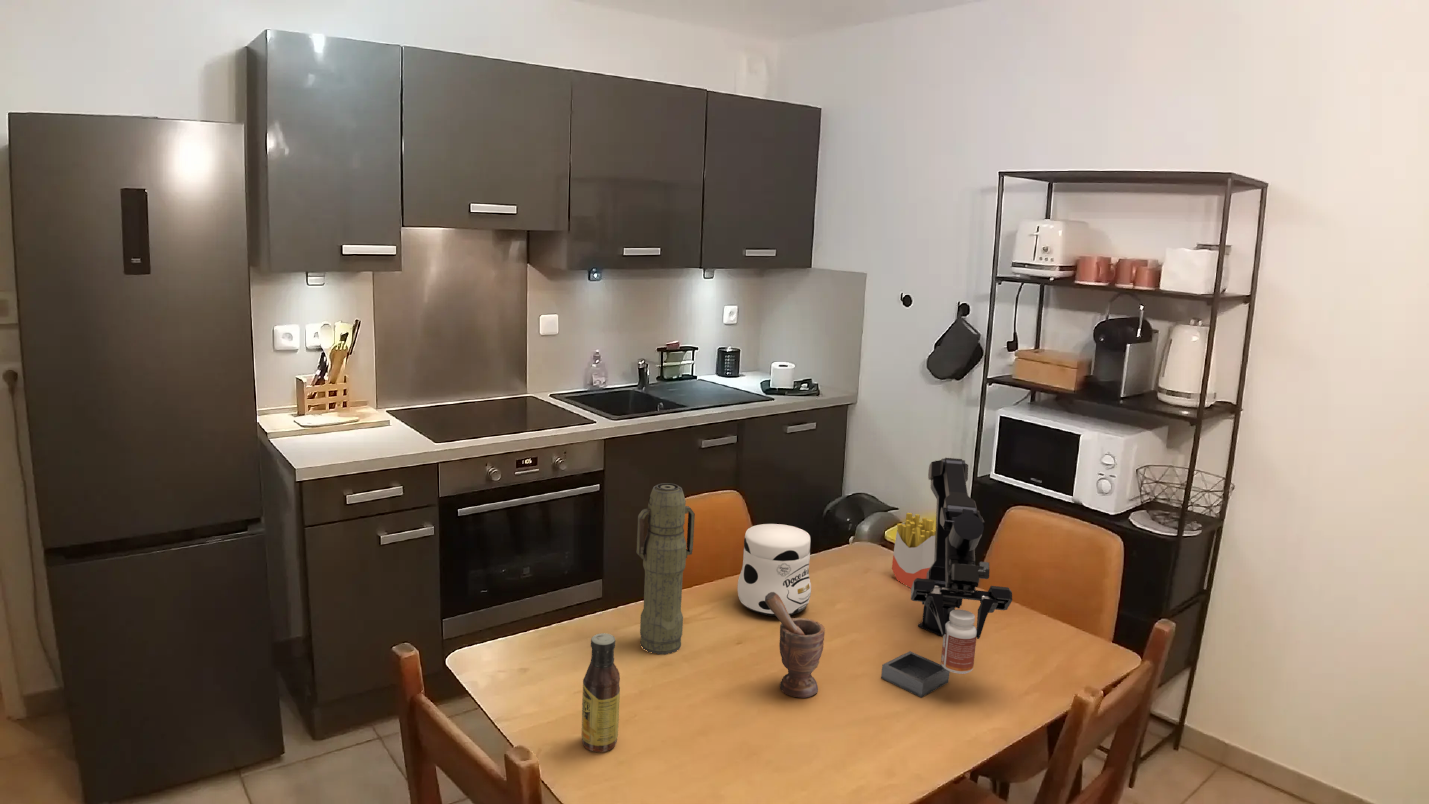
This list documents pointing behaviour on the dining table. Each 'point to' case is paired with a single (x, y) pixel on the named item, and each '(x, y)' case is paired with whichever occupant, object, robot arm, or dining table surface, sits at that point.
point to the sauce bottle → (601, 696)
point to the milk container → (775, 568)
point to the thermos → (664, 567)
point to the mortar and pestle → (797, 649)
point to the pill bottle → (959, 642)
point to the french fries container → (913, 549)
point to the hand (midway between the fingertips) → (960, 636)
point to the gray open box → (915, 674)
